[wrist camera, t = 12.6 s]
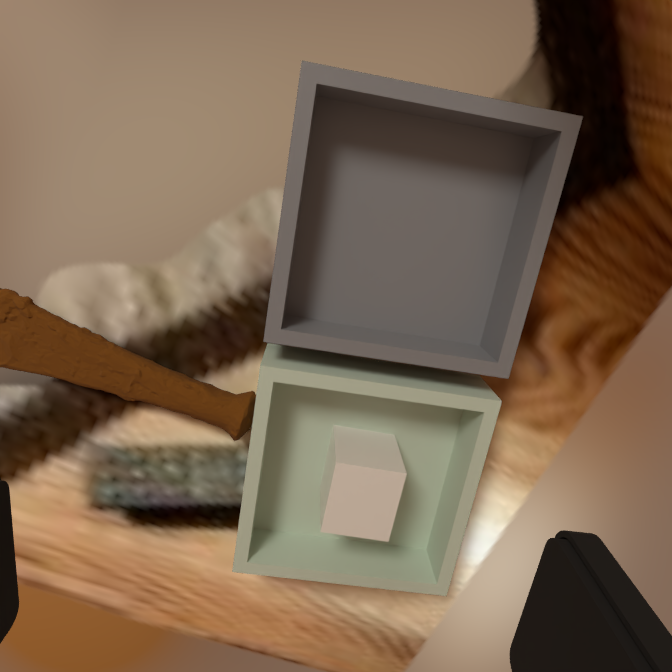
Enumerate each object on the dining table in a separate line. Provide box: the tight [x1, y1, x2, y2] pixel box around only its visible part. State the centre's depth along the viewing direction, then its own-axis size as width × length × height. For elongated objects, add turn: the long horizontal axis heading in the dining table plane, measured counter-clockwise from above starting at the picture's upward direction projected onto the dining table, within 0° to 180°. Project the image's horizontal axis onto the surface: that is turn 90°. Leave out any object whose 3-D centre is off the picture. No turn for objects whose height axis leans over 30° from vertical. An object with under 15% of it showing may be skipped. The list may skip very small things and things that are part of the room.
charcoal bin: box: [264, 61, 583, 379], centre depth 30 cm, size 15×15×4 cm
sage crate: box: [232, 343, 502, 596], centre depth 34 cm, size 15×15×4 cm
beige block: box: [320, 425, 407, 542], centre depth 33 cm, size 5×4×5 cm
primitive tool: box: [0, 288, 256, 441], centre depth 32 cm, size 19×6×4 cm, turn 72°
